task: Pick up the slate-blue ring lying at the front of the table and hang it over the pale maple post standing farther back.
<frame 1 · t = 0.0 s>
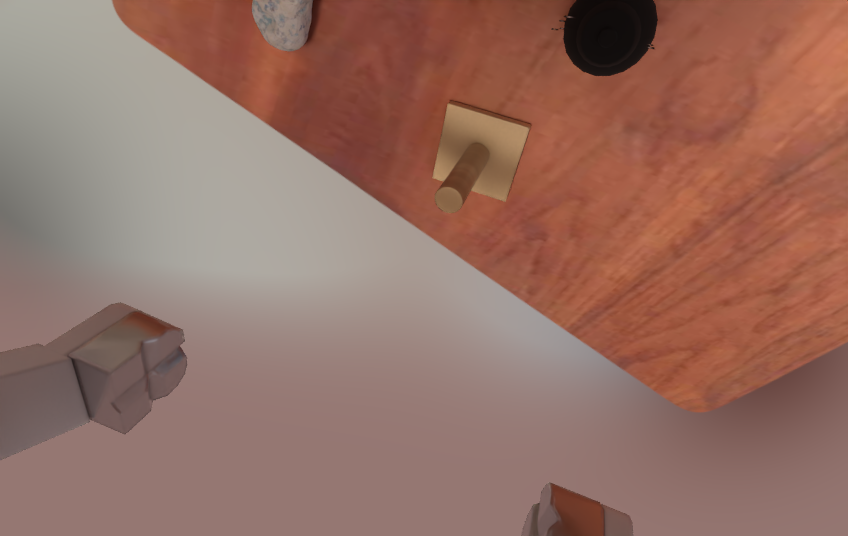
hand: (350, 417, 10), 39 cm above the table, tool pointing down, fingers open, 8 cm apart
stand: (480, 150, 47), on the table
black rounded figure: (608, 14, 37), on the table
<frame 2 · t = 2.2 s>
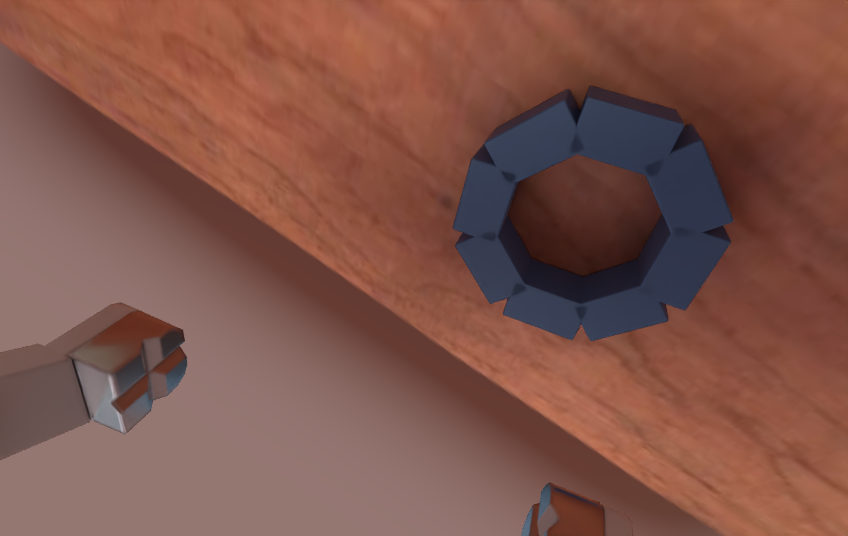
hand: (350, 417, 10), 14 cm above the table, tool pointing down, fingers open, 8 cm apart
ring: (581, 212, 21), on the table
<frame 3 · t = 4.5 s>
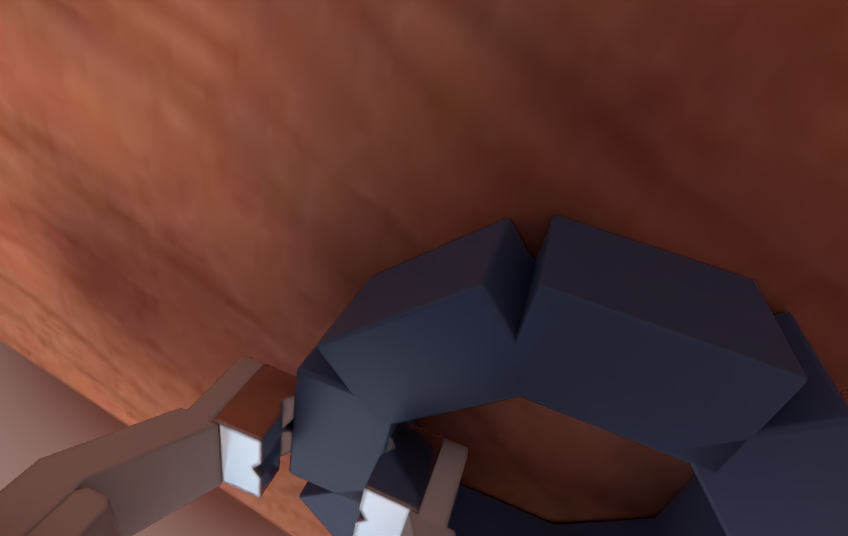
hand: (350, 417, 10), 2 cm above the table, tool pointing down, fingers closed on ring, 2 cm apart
ring: (546, 431, 11), on the table, touching gripper
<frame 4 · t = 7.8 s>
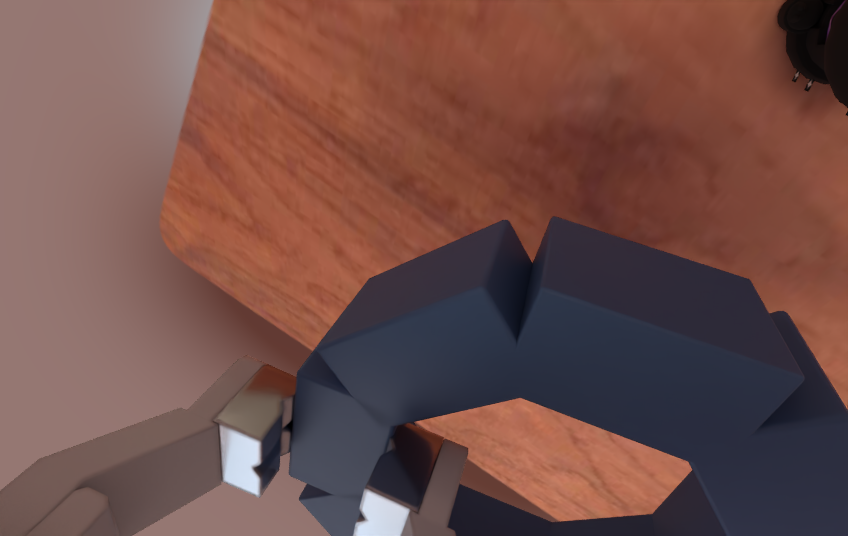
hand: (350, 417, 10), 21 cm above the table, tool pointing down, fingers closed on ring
ring: (544, 430, 11), point 19 cm above the table, touching gripper
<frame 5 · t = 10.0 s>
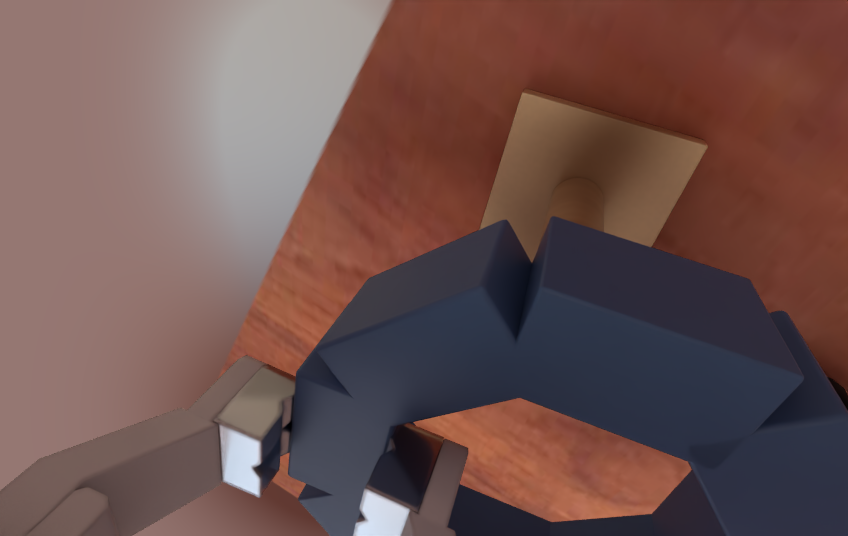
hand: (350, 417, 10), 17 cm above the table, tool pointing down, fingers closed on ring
stand: (577, 194, 23), on the table
ring: (544, 430, 11), point 15 cm above the table, touching gripper
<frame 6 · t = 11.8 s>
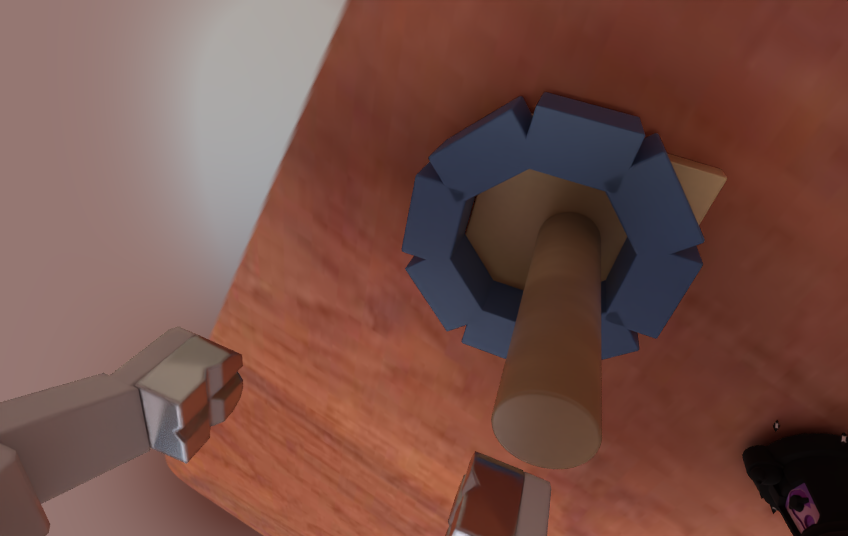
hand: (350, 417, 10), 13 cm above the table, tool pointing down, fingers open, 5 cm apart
stand: (569, 229, 19), on the table
ring: (543, 229, 19), point 1 cm above the table, touching stand
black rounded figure: (812, 458, 21), on the table
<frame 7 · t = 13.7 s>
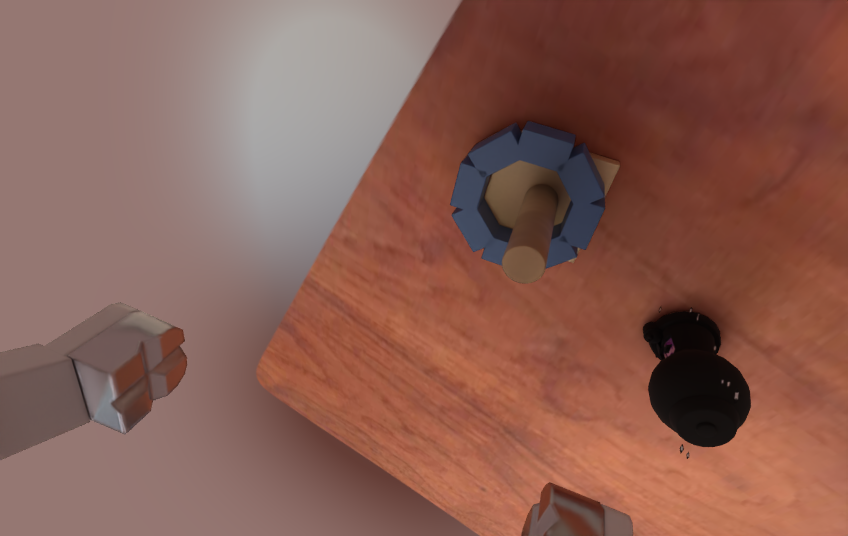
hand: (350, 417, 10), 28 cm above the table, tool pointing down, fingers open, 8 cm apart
stand: (542, 194, 35), on the table
ring: (527, 194, 34), point 1 cm above the table, touching stand
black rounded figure: (682, 330, 37), on the table
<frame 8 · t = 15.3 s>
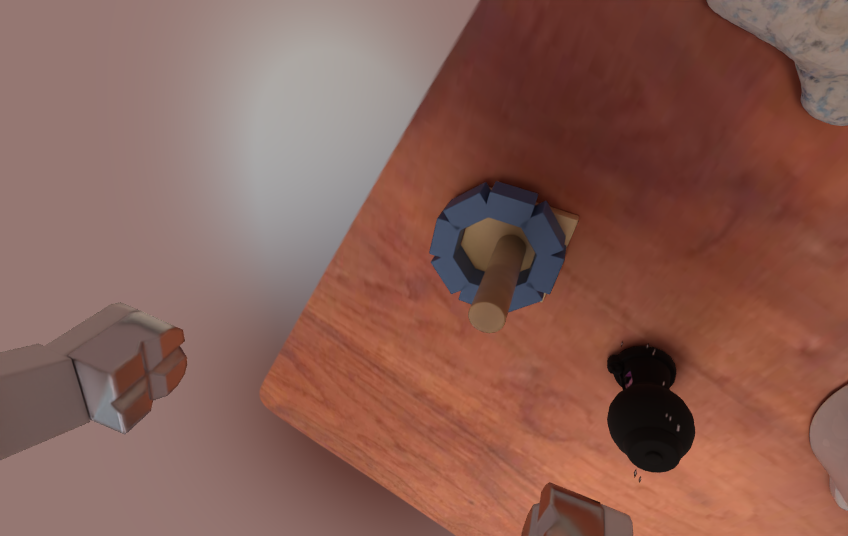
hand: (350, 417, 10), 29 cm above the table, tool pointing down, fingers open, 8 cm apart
stand: (513, 242, 39), on the table
ring: (499, 243, 38), point 1 cm above the table, touching stand
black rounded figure: (643, 362, 41), on the table
decorative stone: (799, 24, 27), on the table
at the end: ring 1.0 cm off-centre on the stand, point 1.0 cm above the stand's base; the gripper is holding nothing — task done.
